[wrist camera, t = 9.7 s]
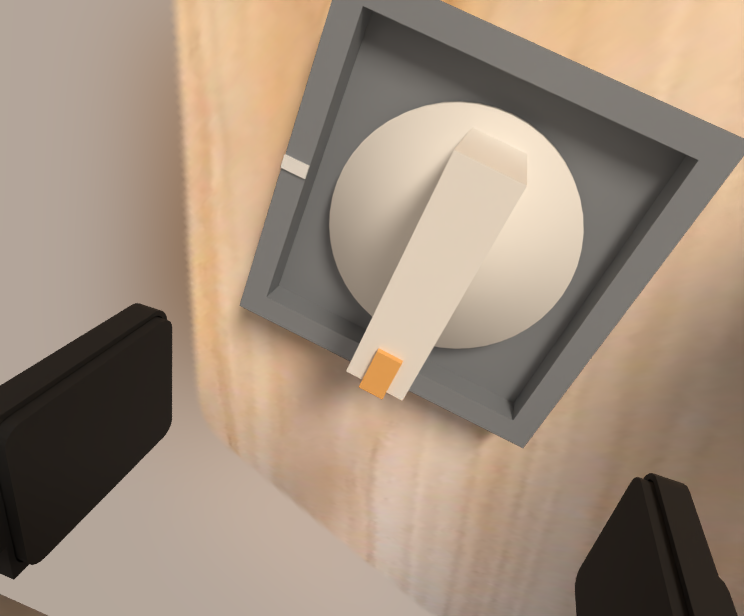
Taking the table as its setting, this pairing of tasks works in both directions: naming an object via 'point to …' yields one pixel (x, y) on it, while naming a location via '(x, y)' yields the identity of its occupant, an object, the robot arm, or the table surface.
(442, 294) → the dial
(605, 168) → the dial plate
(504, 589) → the table surface
